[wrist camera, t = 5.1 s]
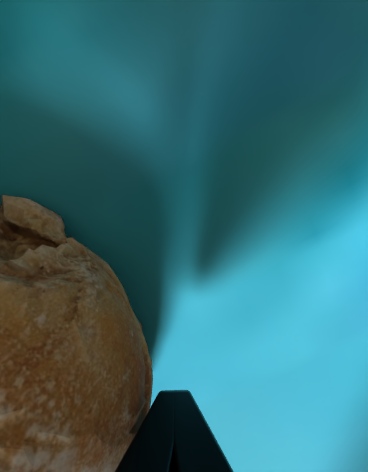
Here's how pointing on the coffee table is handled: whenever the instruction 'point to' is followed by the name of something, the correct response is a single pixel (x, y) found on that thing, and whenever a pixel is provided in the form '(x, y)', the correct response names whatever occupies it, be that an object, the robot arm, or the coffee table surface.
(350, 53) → the coffee table surface
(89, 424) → the bread roll
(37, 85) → the coffee table surface
